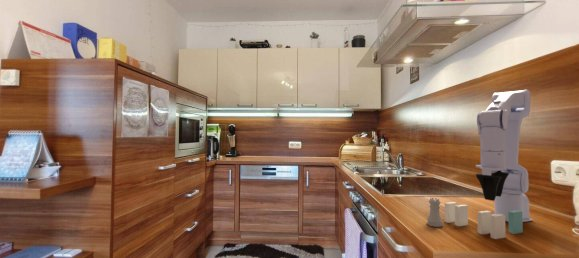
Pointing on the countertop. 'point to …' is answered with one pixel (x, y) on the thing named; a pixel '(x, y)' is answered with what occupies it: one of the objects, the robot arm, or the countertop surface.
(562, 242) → the countertop surface
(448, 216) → the domino
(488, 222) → the domino
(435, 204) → the rook chess piece
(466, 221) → the domino
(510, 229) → the domino
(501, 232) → the domino
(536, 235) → the countertop surface
